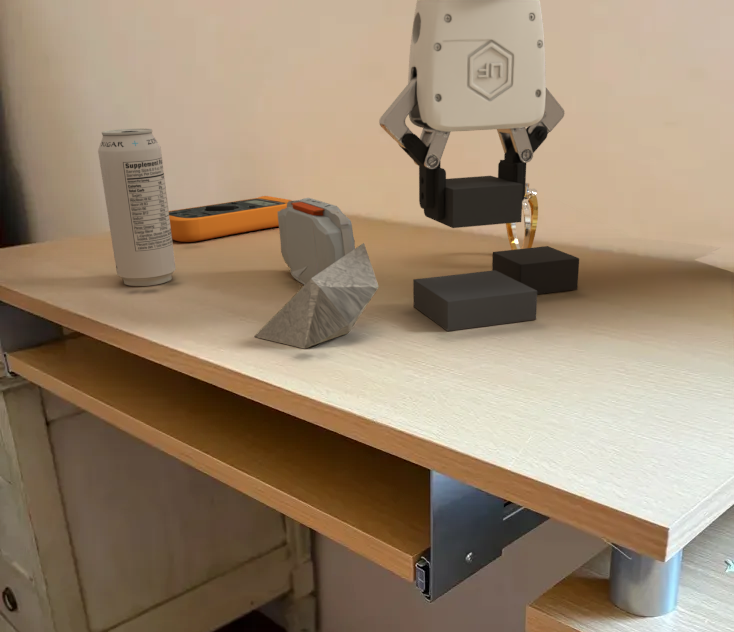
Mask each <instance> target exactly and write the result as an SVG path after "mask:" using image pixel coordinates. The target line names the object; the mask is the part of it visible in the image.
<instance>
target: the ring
mask: <svg viewBox="0 0 734 632" xmlns="http://www.w3.org/2000/svg"><path fill="white" fill-rule="evenodd" d="M537 194H538V190H537V188H530V183H529V182H526V184H525V198H524V200H523V201H522V214H523V221H524V234H523V240H522V245H521V247H520V244H519V239H518V235H517V223H505V227H506V228H505V229H506V235H507V238H508V243H509V247H510V250H516V249H525V248H533V244H534V240H535V237H536V231H537V227H538V218H539V201H538V197H537ZM528 204H529V205H528Z"/></svg>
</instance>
